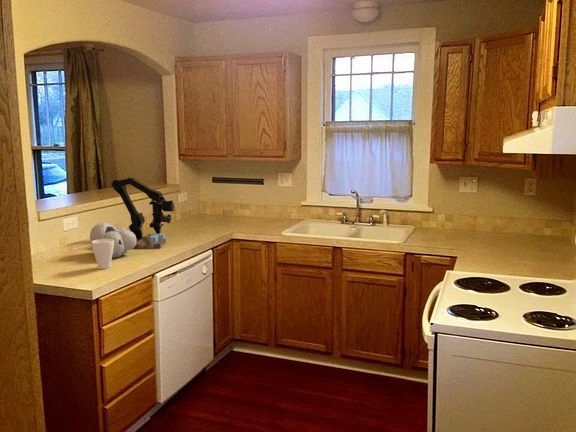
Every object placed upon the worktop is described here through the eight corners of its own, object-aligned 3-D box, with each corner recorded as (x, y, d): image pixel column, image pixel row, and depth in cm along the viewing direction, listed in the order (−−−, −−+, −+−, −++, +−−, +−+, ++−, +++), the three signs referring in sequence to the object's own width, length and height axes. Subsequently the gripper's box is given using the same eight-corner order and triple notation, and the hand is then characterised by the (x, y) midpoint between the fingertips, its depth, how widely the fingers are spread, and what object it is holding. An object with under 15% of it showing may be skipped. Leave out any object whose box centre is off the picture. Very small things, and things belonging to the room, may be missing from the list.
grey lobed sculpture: (109, 249, 268) (112, 210, 276) (79, 261, 281) (83, 223, 290) (141, 258, 283) (143, 221, 292) (112, 269, 296) (114, 233, 305)
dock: (134, 248, 301) (133, 244, 301) (141, 243, 316) (140, 239, 315) (160, 248, 301) (160, 244, 301) (166, 242, 316) (165, 238, 315)
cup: (107, 271, 254) (105, 243, 252) (88, 269, 257) (86, 242, 255) (119, 265, 264) (118, 239, 262) (101, 264, 267) (99, 238, 265)
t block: (144, 243, 314) (144, 237, 313) (149, 240, 324) (148, 233, 324) (161, 243, 314) (160, 237, 314) (165, 239, 325) (164, 233, 324)
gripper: (167, 213, 317) (168, 239, 320) (173, 209, 336) (174, 233, 338) (148, 213, 317) (150, 239, 320) (155, 209, 335) (157, 233, 338)
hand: (158, 236), depth 329 cm, fingers closed
